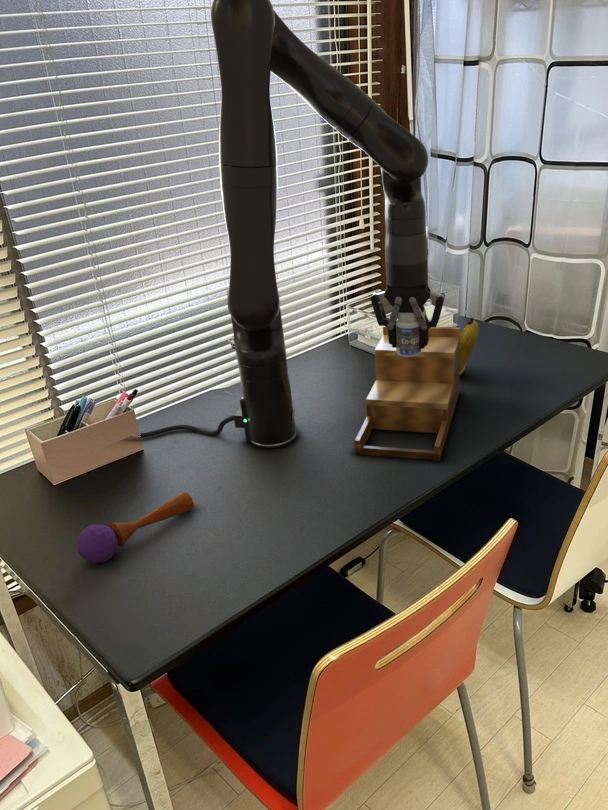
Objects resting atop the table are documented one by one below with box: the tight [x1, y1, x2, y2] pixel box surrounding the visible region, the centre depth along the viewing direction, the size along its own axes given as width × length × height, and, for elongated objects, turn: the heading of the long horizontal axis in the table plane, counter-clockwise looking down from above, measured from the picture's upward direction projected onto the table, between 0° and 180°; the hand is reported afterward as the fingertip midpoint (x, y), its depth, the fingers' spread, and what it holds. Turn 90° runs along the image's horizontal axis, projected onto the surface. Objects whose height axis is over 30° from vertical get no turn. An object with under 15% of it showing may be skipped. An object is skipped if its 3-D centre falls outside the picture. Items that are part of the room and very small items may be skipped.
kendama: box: [76, 491, 195, 564], centre depth 115 cm, size 6×6×20 cm
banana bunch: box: [459, 316, 480, 377], centre depth 156 cm, size 12×8×15 cm
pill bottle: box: [396, 312, 421, 357], centre depth 133 cm, size 5×5×8 cm
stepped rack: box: [354, 326, 461, 461], centre depth 139 cm, size 16×28×15 cm, turn 165°
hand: (408, 346), depth 135 cm, fingers closed on pill bottle, 4 cm apart
